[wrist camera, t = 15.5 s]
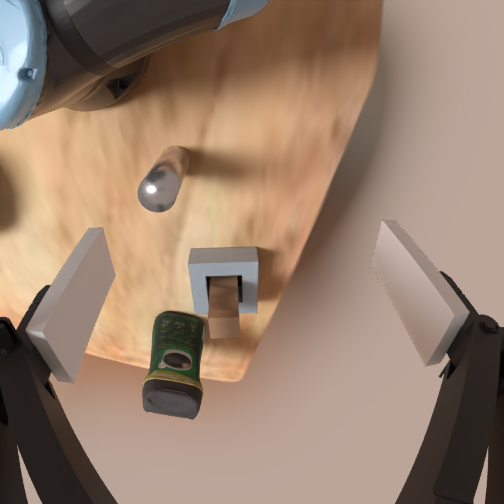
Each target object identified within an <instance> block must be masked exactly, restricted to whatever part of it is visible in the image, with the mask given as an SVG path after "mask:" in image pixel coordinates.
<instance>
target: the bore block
mask: <svg viewBox="0 0 504 504" xmlns="http://www.w3.org/2000/svg"><path fill="white" fill-rule="evenodd" d="M188 266H189V274H190V281H191V288H192V295H193V302H194V309H195V314H208V308H209V291H210V287H209V279H208V276H231V275H242V287H238V303H239V313H257V301H258V255H257V248H256V247H230V248H196V249H191V250H190V256H189V262H188Z"/></svg>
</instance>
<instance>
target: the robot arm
mask: <svg viewBox="0 0 504 504" xmlns="http://www.w3.org/2000/svg"><path fill="white" fill-rule="evenodd" d="M268 2H269V0H0V131H1V130H4V129H9V128H10V129H13V128H15V127H18V126H20V125H22V124H23V123H24V122H25V121H28V120H30V119H33V118H35V117H38V116H40V115H43V114H46V113H48V112H51V111H54V110H57V109H59V108H62V107H66V108H68V109H71V110H75V111H94V110H99V109H102V108H105V107H107V106H110V105H112V104H114V103H116V102H118V101H120V100H121V99H123V98H124V97H125V96H127V95H128V94H129V93H130V92H131V91H132V90H133V89H134V88H135V86H136V85H137V84H138V83H139V81H140V79H141V78H142V76H143V74H144V72H145V70H146V67H147V65H148V61H149V57H150V53H152V52H155V51H157V50H159V49H161V48H164V47H166V46H169V45H171V44H173V43H176V42H178V41H181V40H183V39H186V38H189V37H191V36H194V35H197V34H199V33H202V32H205V31H208V30H211V31H216V30H219V29H221V28H222V27H224V26H225V25H226V24H229V23H232V22H235V21H238V20H241V19H244V18H248V17H251V16H253V15H255V14H257V13H258V12H260V11H261V10H262V8H264V7H265V6H266V5H267V4H268ZM371 268H372V270H373V271H374V273H375V275H376V276H377V278H378V280H379V282H380V283H381V285H382V287H383V288H384V290H385V292H386V294H387V295H388V297H389V299H390V301H391V302H392V304H393V306H394V308H395V310H396V311H397V313H398V315H399V317H400V319H401V320H402V322H403V324H404V326H405V328H406V330H407V332H408V333H409V336H410V337H411V339H412V341H413V343H414V345H415V347H416V349H417V351H418V353H419V355H420V357H421V359H422V361H423V363H424V365H425V367H426V366H430V365H434V364H438V363H440V362H441V361H442V359H443V358H444V356H445V354H446V353H447V354H448V356H449V358H450V360H449V362H448V363H447V365H446V366H445V368H444V369H443V371H442V372H441V374H440V375H439V377H440V378H441V377H442V375H443V374H444V378H443V381H442V385H441V389H440V392H439V395H438V398H437V402H436V405H435V408H434V411H433V414H432V417H431V420H430V423H429V426H428V429H427V432H426V434H425V437H424V440H423V442H422V445H421V448H420V450H419V453H418V455H417V458H416V460H415V463H414V465H413V467H412V469H411V471H410V474H409V476H408V478H407V480H406V483H405V485H404V487H403V489H402V491H401V493H400V495H399V497H398V499H397V501H396V503H395V504H474V503H473V500H474V496H475V493H476V489H477V486H478V483H479V480H480V476H481V472H482V469H483V465H484V461H485V457H486V453H487V449H488V475H487V488H486V499H485V504H504V327H499V325H498V323H497V322H496V321H495V320H494V319H493V318H491V317H489V316H487V315H479V314H478V313H477V312H476V310H475V309H474V307H473V306H472V305H471V303H470V302H469V301H468V299H467V298H466V297H465V295H464V294H462V291H461V290H460V289H459V288H457V285H456V284H455V282H454V281H453V280H452V278H450V277H449V276H448V275H446V274H445V273H444V272H442V271H440V272H439V271H438V270H437V268H436V267H435V266H434V265H433V263H432V262H431V261H430V260H429V259H428V257H427V256H426V255H425V254H424V253H423V251H422V250H421V249H420V248H419V247H418V245H417V244H416V243H415V242H414V241H413V240H412V238H411V237H410V236H409V235H408V234H407V233H406V232H405V230H404V229H403V228H402V227H401V226H400V225H399V224H398V223H397V221H395V220H382V222H381V227H380V231H379V236H378V241H377V245H376V249H375V252H374V256H373V260H372V264H371ZM114 278H115V271H114V268H113V264H112V260H111V257H110V253H109V249H108V245H107V241H106V237H105V233H104V229H103V227H98V228H89V229H88V230H87V232H86V233H85V234H84V236H83V237H82V239H81V240H80V242H79V243H78V244H77V246H76V247H75V249H74V250H73V252H72V253H71V255H70V256H69V258H68V259H67V261H66V262H65V264H64V265H63V267H62V268H61V270H60V271H59V273H58V275H57V276H56V278H55V279H54V281H53V283H52V284H51V285H46V286H45V287H44V288H43V289H42V290H40V291H39V292H38V294H37V295H36V297H35V298H34V300H33V303H31V305H30V307H29V308H28V311H27V312H26V314H25V315H24V317H23V319H22V321H21V322H20V324H19V326H18V328H17V330H16V329H15V328H14V326H13V324H12V323H11V321H10V319H9V318H7V317H0V504H28V502H27V498H26V493H25V489H24V484H23V479H22V474H21V468H20V462H19V455H18V448H19V451H20V453H21V456H22V459H23V461H24V464H25V466H26V469H27V471H28V473H29V476H30V478H31V481H32V482H33V485H34V487H35V489H36V491H37V494H38V496H39V498H40V500H41V502H42V504H118V503H117V502H116V500H115V499H114V497H113V496H112V495H111V493H110V492H109V490H108V489H107V487H106V486H105V484H104V483H103V481H102V480H101V478H100V476H99V475H98V473H97V472H96V470H95V468H94V467H93V465H92V463H91V462H90V460H89V458H88V457H87V455H86V453H85V451H84V450H83V448H82V446H81V444H80V442H79V440H78V438H77V437H76V435H75V433H74V431H73V429H72V427H71V425H70V423H69V421H68V419H67V417H66V415H65V413H64V410H63V408H62V406H61V404H60V402H59V399H58V397H57V395H56V393H55V390H54V388H53V385H52V384H51V382H50V381H49V376H50V374H51V372H52V373H53V375H54V376H55V377H56V379H57V380H58V381H62V382H69V383H74V382H75V380H76V376H77V373H78V370H79V367H80V365H81V362H82V359H83V355H84V353H85V350H86V347H87V345H88V342H89V339H90V337H91V334H92V331H93V329H94V326H95V323H96V321H97V318H98V316H99V313H100V311H101V308H102V306H103V303H104V301H105V299H106V296H107V294H108V292H109V289H110V287H111V285H112V282H113V280H114ZM17 445H18V448H17ZM488 447H489V448H488Z"/></svg>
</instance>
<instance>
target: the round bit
mask: <svg viewBox="0 0 504 504" xmlns="http://www.w3.org/2000/svg"><path fill="white" fill-rule="evenodd" d="M189 164H190V157H189V154H188V152H187V151H186V150H185V149H184V148H182V147H179V146H172V147H169V148H167V149H166V150H165V151H164V152H163V153H162V155H161V156H160V157H159V159H158V160H157V161H156V163H155V164H154V165H153V167H152V168H151V170H150V171H149V172H148V174H147V175H146V177H145V178H144V179H143V181H142V182H141V184H140V185H139V188H138V198H139V201H140V203H141V204H142V205H143V206H144V207H145V208H146V209H148V210H149V211H152V212H164V211H166V210H168V209H170V208H171V207H172V206H173V204H174V203H175V200H176V198H177V195H178V192H179V190H180V187H181V184H182V182H183V179H184V177H185V174H186V172H187V169H188V167H189Z"/></svg>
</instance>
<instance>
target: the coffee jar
mask: <svg viewBox="0 0 504 504" xmlns="http://www.w3.org/2000/svg"><path fill="white" fill-rule="evenodd" d="M204 337H205V325H204V324H203V322H202V321H201V320H199V319H197V318H195V317H191V316H188V315H184V314H179V313H172V312H164V313H161V314H159V315H158V316H157V317H156V319H155V322H154V326H153V333H152V350H151V362H150V369H149V373H148V375H147V376H146V378H145V379H144V382H143V387H142V396H143V408H144V410H145V411H146V412H153V413H158V414H163V415H169V416H175V417H181V418H189V419H194V418H195V417H196V416H197V414H198V412H199V409H200V405H201V400H202V396H203V388H202V385H201V382H200V378H199V374H200V362H201V355H202V349H203V344H204Z"/></svg>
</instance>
